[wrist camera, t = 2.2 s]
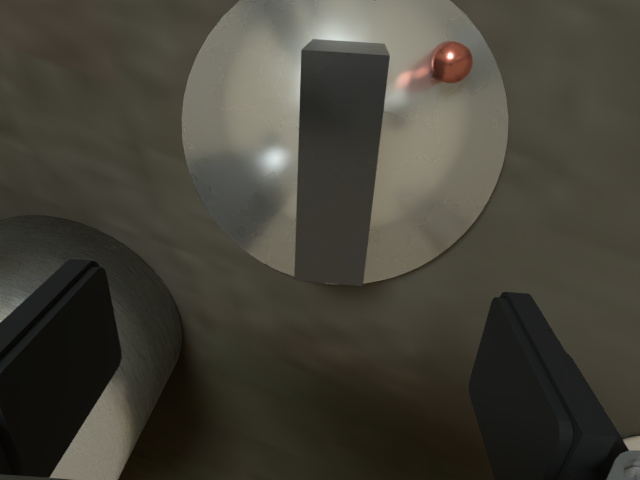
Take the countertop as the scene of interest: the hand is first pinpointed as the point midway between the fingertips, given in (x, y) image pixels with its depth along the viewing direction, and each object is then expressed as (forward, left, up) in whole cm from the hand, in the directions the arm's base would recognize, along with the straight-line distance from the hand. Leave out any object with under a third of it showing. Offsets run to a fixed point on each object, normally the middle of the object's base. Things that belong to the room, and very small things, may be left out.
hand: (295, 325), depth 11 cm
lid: (0, +1, -15) cm, 15 cm away
